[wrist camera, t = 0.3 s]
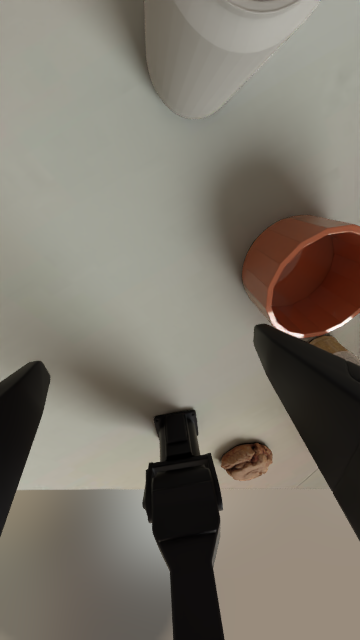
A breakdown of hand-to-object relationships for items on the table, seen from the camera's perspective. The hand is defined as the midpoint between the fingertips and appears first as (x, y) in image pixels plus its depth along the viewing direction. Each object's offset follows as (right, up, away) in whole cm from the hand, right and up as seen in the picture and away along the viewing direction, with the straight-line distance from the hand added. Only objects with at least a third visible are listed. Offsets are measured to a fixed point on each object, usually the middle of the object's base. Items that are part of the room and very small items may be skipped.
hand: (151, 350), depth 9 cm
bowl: (+13, +7, +14) cm, 20 cm away
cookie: (+14, -25, +35) cm, 45 cm away
